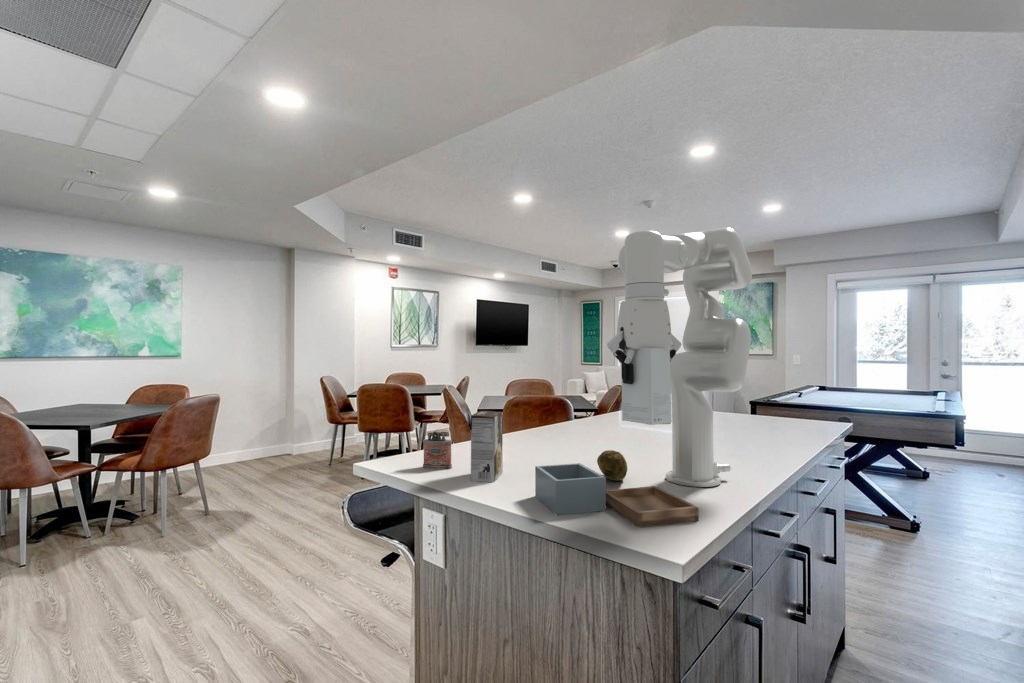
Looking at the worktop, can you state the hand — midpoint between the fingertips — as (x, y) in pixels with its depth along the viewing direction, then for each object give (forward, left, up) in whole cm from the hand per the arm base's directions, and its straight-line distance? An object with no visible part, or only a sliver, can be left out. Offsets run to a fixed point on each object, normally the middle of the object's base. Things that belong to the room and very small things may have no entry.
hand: (645, 382), depth 95 cm
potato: (-4, -22, -26) cm, 34 cm away
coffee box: (+25, -34, -26) cm, 49 cm away
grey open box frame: (+13, -9, -25) cm, 30 cm away
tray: (0, 0, -25) cm, 25 cm away
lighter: (+36, -47, -26) cm, 64 cm away
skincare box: (0, 0, -8) cm, 8 cm away
